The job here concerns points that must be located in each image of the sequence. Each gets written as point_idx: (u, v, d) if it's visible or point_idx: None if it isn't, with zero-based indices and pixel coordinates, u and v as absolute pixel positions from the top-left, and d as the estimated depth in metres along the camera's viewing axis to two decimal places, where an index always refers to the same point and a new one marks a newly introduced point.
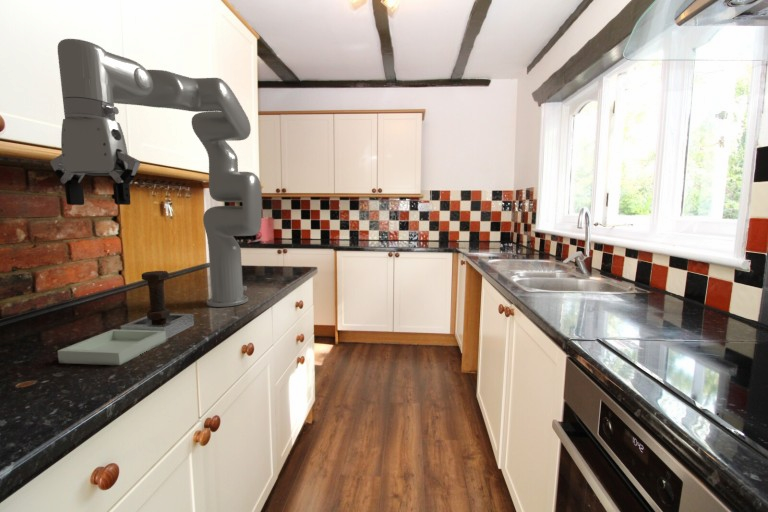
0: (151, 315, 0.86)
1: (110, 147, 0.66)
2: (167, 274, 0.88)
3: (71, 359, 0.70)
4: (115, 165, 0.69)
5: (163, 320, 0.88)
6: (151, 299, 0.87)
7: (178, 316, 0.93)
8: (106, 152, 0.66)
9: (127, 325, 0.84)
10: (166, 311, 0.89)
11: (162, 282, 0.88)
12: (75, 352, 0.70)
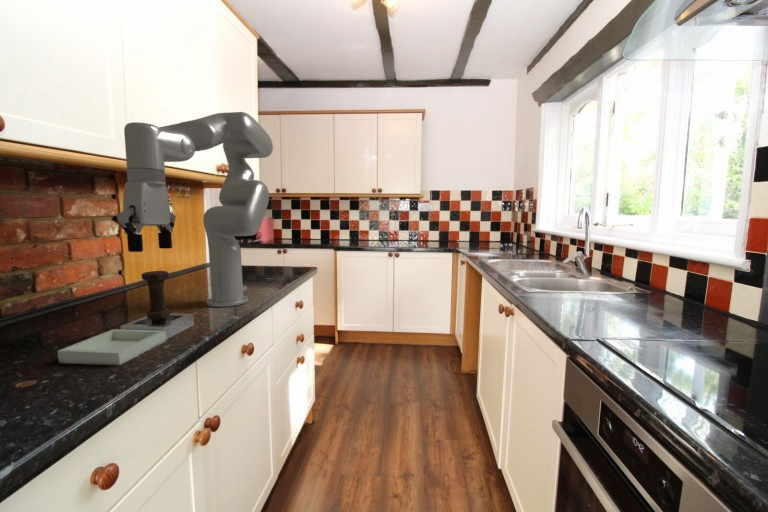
0: (151, 315, 0.86)
1: None
2: (167, 274, 0.88)
3: (71, 359, 0.70)
4: None
5: (163, 320, 0.88)
6: (151, 299, 0.87)
7: (178, 316, 0.93)
8: (169, 210, 0.89)
9: (127, 325, 0.84)
10: (166, 311, 0.89)
11: (162, 282, 0.88)
12: (75, 352, 0.70)
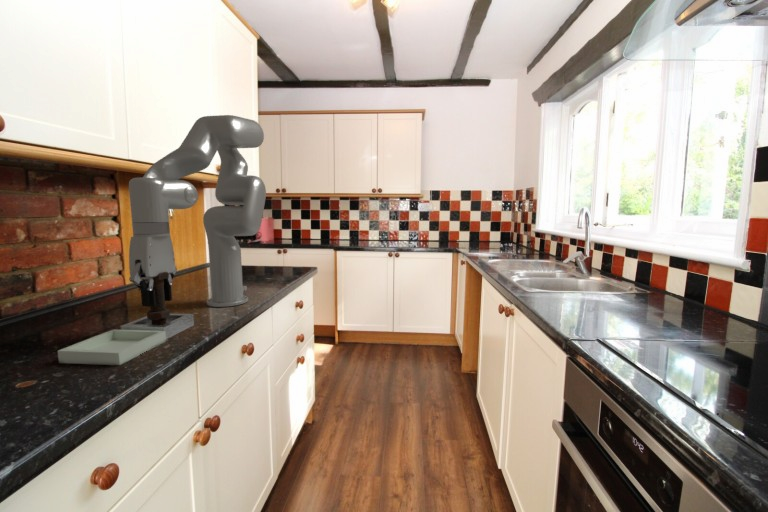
0: (151, 315, 0.86)
1: None
2: (167, 274, 0.88)
3: (71, 359, 0.70)
4: None
5: (163, 320, 0.88)
6: None
7: (178, 316, 0.93)
8: (173, 258, 0.91)
9: (127, 325, 0.84)
10: (166, 311, 0.89)
11: (162, 282, 0.88)
12: (75, 352, 0.70)
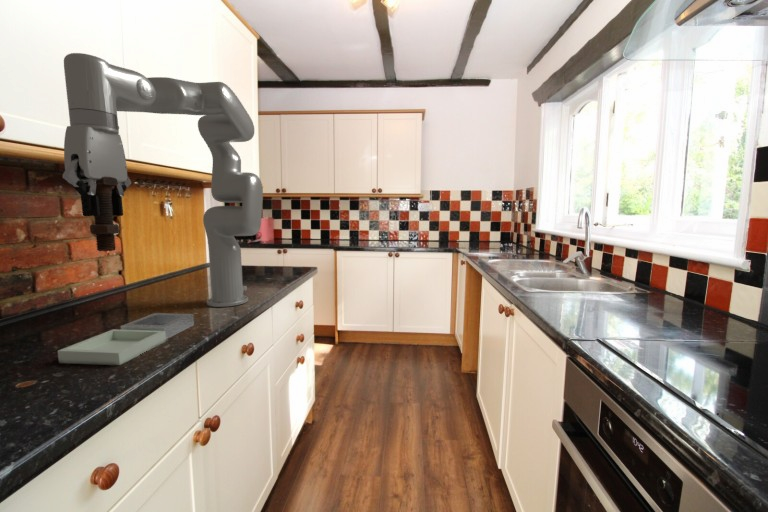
0: (94, 228, 0.71)
1: None
2: (115, 180, 0.73)
3: (71, 359, 0.70)
4: None
5: (110, 236, 0.73)
6: None
7: (178, 316, 0.93)
8: (125, 165, 0.76)
9: (127, 325, 0.84)
10: (115, 225, 0.73)
11: (109, 189, 0.72)
12: (75, 352, 0.70)
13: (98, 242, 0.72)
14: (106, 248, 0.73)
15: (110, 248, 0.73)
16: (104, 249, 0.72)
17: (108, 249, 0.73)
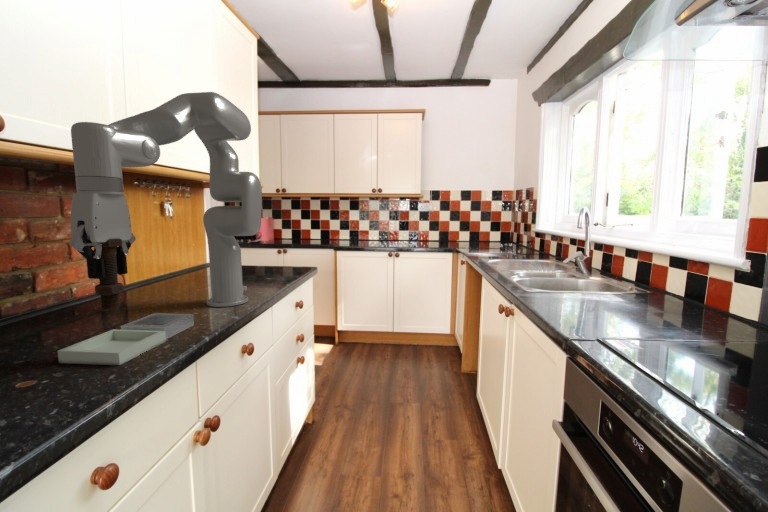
0: (99, 289, 0.72)
1: None
2: (120, 241, 0.74)
3: (71, 359, 0.70)
4: None
5: (115, 296, 0.74)
6: None
7: (178, 316, 0.93)
8: (130, 224, 0.77)
9: (127, 325, 0.84)
10: (119, 285, 0.74)
11: (114, 250, 0.74)
12: (75, 352, 0.70)
13: (103, 302, 0.73)
14: (111, 308, 0.74)
15: (114, 307, 0.74)
16: (108, 309, 0.74)
17: (112, 309, 0.74)
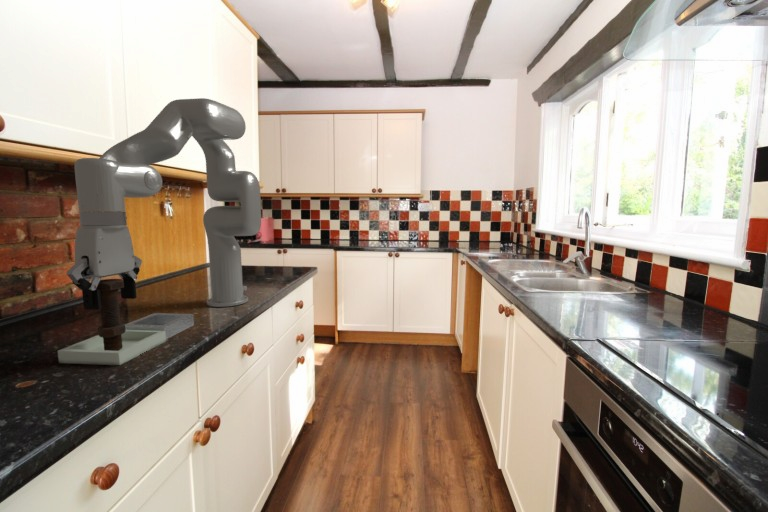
0: (101, 332, 0.73)
1: None
2: (122, 283, 0.74)
3: (71, 359, 0.70)
4: None
5: (117, 337, 0.75)
6: (102, 312, 0.73)
7: (178, 316, 0.93)
8: (133, 254, 0.78)
9: (127, 325, 0.84)
10: (121, 326, 0.75)
11: (116, 292, 0.74)
12: (75, 352, 0.70)
13: (105, 344, 0.74)
14: (113, 349, 0.74)
15: (117, 348, 0.75)
16: (111, 350, 0.74)
17: (115, 350, 0.75)
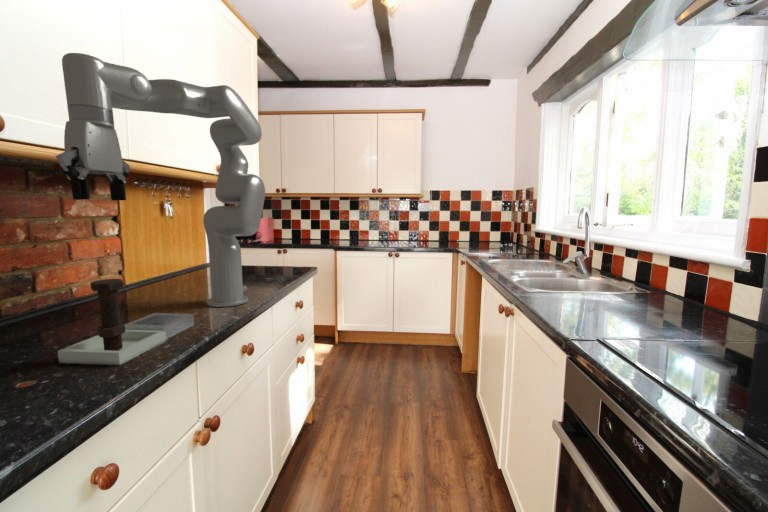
0: (101, 332, 0.73)
1: None
2: (121, 283, 0.74)
3: (71, 359, 0.70)
4: None
5: (117, 337, 0.75)
6: (102, 313, 0.73)
7: (178, 316, 0.93)
8: (120, 157, 0.81)
9: (127, 325, 0.84)
10: (121, 326, 0.75)
11: (115, 292, 0.74)
12: (75, 352, 0.70)
13: (105, 344, 0.74)
14: (113, 349, 0.74)
15: (117, 349, 0.75)
16: (111, 350, 0.74)
17: (115, 350, 0.75)
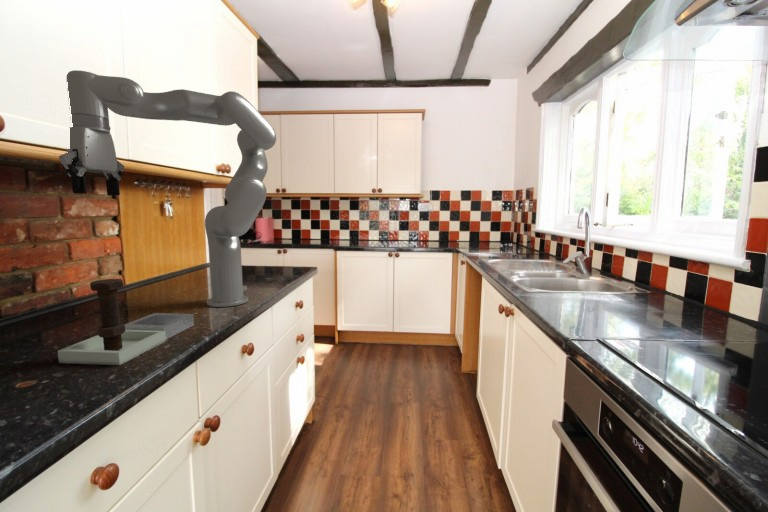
0: (101, 332, 0.73)
1: None
2: (121, 283, 0.74)
3: (71, 359, 0.70)
4: None
5: (117, 337, 0.75)
6: (101, 313, 0.73)
7: (178, 316, 0.93)
8: (115, 158, 0.94)
9: (127, 325, 0.84)
10: (121, 326, 0.75)
11: (115, 292, 0.74)
12: (75, 352, 0.70)
13: (105, 344, 0.74)
14: (113, 349, 0.74)
15: (117, 348, 0.75)
16: (111, 350, 0.74)
17: (115, 350, 0.75)
